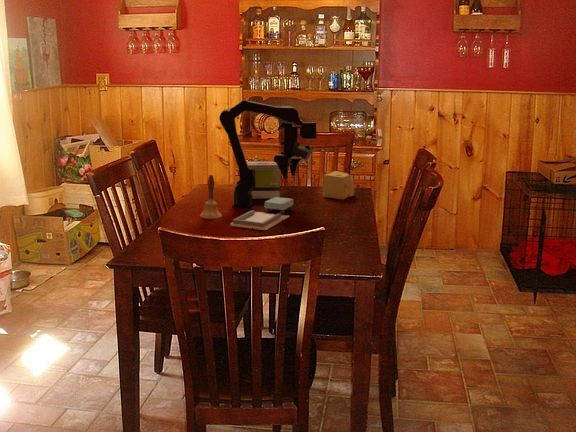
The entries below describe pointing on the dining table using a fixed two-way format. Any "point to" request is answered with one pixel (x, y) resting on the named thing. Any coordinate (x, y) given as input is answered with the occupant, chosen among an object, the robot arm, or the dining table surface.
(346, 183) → the cheese
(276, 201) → the sage green box
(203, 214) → the hand bell
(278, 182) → the tea box
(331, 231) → the dining table surface
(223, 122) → the robot arm
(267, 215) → the dock
